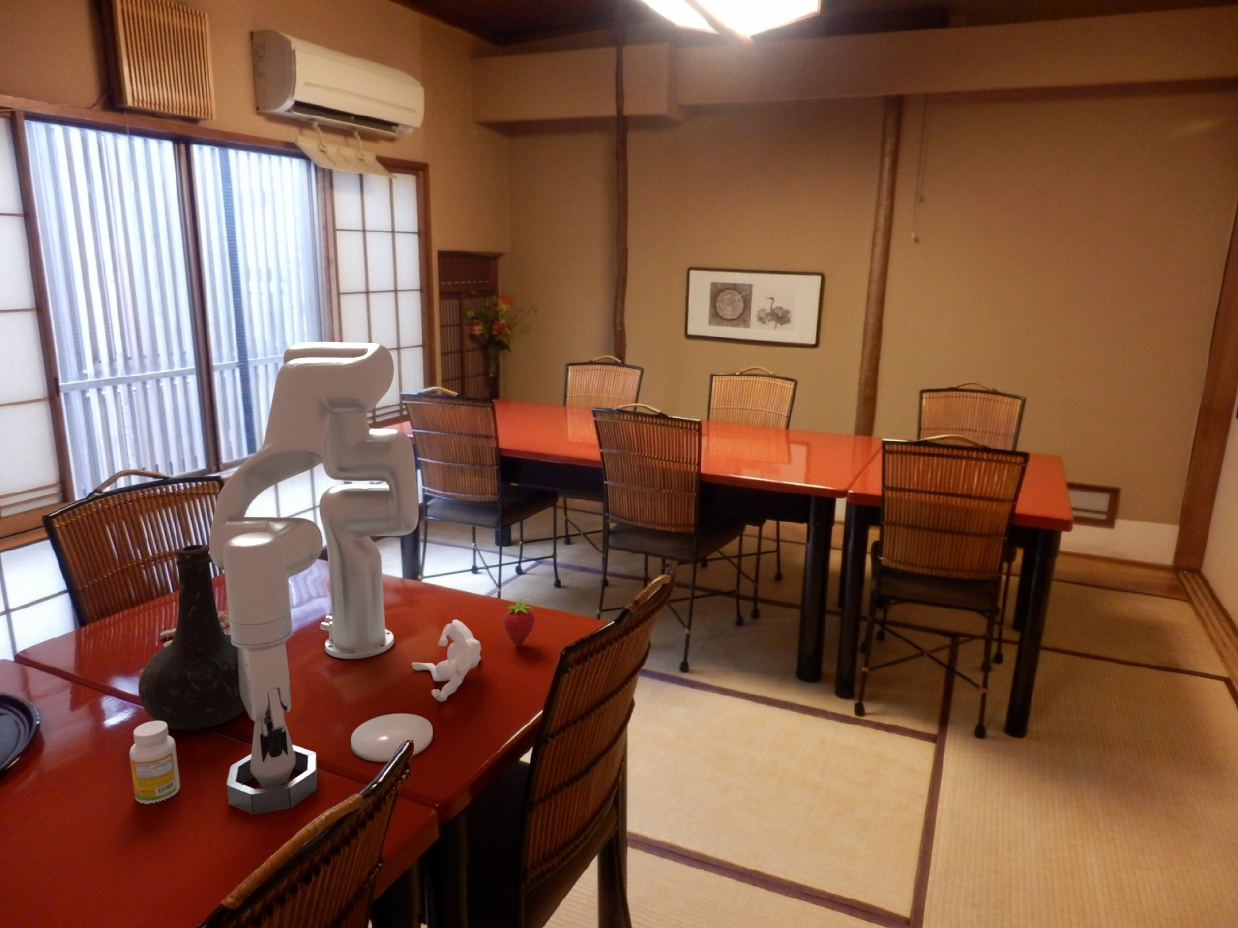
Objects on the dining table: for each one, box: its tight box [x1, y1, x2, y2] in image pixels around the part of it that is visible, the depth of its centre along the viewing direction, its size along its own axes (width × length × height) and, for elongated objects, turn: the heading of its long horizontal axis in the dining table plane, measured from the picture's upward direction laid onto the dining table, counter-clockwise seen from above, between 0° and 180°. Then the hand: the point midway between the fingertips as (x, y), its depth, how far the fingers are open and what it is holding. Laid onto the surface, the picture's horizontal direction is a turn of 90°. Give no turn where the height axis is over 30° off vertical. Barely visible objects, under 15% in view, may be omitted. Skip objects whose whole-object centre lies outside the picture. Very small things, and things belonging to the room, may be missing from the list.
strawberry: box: [503, 598, 535, 648], centre depth 158 cm, size 6×8×10 cm
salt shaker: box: [250, 709, 296, 788], centre depth 112 cm, size 6×6×13 cm
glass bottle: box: [137, 544, 246, 731], centre depth 129 cm, size 18×18×28 cm
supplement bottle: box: [129, 720, 181, 805], centre depth 111 cm, size 5×5×10 cm
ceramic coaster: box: [350, 713, 434, 763], centre depth 126 cm, size 12×12×1 cm
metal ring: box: [226, 744, 318, 815], centre depth 113 cm, size 11×11×3 cm
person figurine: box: [411, 619, 482, 703], centre depth 144 cm, size 13×13×18 cm
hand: (272, 750), depth 113 cm, fingers closed on salt shaker, 3 cm apart
